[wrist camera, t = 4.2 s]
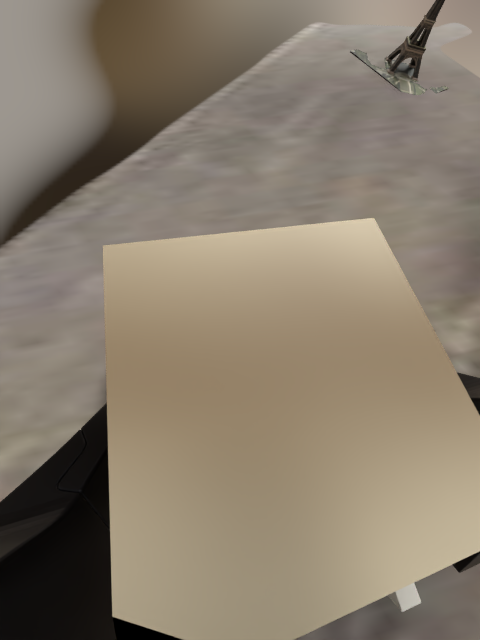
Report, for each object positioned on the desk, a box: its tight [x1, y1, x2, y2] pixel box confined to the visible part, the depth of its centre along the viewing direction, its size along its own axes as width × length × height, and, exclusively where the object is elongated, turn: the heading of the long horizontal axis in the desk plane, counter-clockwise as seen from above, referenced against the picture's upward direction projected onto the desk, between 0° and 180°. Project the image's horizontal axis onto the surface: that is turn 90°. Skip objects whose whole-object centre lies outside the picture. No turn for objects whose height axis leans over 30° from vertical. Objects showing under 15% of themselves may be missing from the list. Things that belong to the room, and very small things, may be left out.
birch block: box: [103, 218, 480, 640], centre depth 9 cm, size 5×5×13 cm
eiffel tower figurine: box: [351, 0, 448, 95], centre depth 29 cm, size 15×10×13 cm
